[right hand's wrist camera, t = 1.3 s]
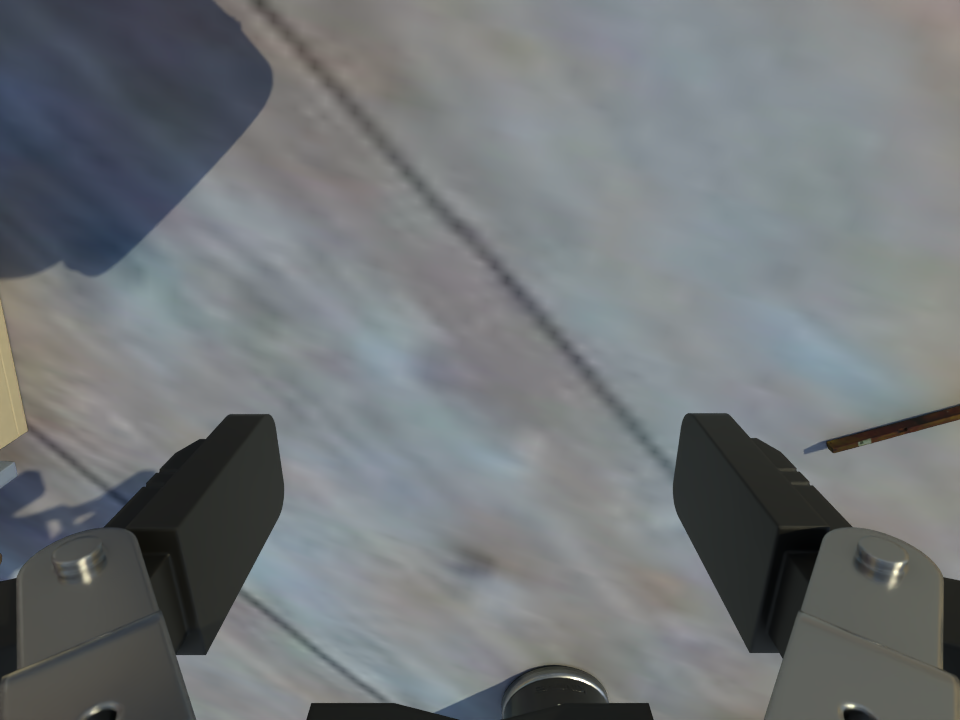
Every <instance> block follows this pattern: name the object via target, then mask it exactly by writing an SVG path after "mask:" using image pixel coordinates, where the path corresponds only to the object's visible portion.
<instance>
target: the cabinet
mask: <svg viewBox="0 0 960 720" xmlns="http://www.w3.org/2000/svg"><path fill="white" fill-rule="evenodd" d="M27 431H28V429H27V424H26V419H25V414H24V410H23V405H22V400H21V395H20V391H19V386H18V381H17V376H16V371H15V367H14V362H13V357H12V352H11V348H10V343H9V338H8V333H7V328H6V324H5V319H4V314H3V309H2V305H1V300H0V449H2V448H3V447H5V446H6V445H8V444H9V443H11V442H12V441H14V440H15V439H17V438H18V437H20V436H21V435H23V434H24V433H26V432H27Z"/></svg>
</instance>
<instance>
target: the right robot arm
mask: <svg viewBox="0 0 960 720" xmlns="http://www.w3.org/2000/svg"><path fill="white" fill-rule="evenodd" d="M673 498H674V505H675V509H676V512H677V515H678V517H679V519H680V521H681V522H682V524H683V526H684V528H685V530H686V532H687V534H688V536H689V538H690V540H691V542H692V543H693V545H694V547H695V549H696V551H697V553H698V555H699V557H700V559H701V561H702V563H703V564H704V566H705V568H706V570H707V572H708V574H709V576H710V578H711V580H712V582H713V584H714V586H715V587H716V589H717V591H718V593H719V595H720V597H721V599H722V601H723V603H724V605H725V607H726V608H727V610H728V612H729V614H730V616H731V618H732V620H733V622H734V624H735V626H736V628H737V629H738V631H739V633H740V635H741V637H742V639H743V641H744V643H745V645H746V647H747V649H748V650H749V652H750V653H780V655H781V656H782V658H783V661H782V664H781V667H780V670H779V673H778V677H777V680H776V683H775V686H774V689H773V692H772V696H771V699H770V702H769V705H768V708H767V711H766V715H765V718H764V720H960V581H959V580H954V579H949V578H944V577H943V575H942V573H941V571H940V569H939V568H938V567H937V565H936V564H935V563H934V562H933V561H932V560H931V559H930V558H929V557H927V556H926V555H925V554H924V553H922V552H921V551H920V550H918V549H916V548H915V547H913V546H912V545H910V544H908V543H906V542H904V541H902V540H900V539H897V538H895V537H893V536H890V535H887V534H885V533H881V532H878V531H874V530H869V529H864V528H855V527H852V526H851V525H850V524H849V523H848V522H847V521H846V520H845V519H844V518H843V517H842V516H841V514H840V513H839V512H838V511H837V510H836V509H835V508H834V507H833V506H832V505H831V504H830V503H829V502H828V501H827V500H826V499H825V498H824V497H823V496H822V495H821V494H820V492H819V491H818V490H817V489H816V488H815V487H814V486H810V484H809V481H808V480H807V479H806V478H805V477H804V476H803V475H802V474H801V473H800V472H797V471H796V467H795V466H794V465H793V464H792V463H791V462H790V461H789V460H788V459H787V458H786V457H785V456H784V455H783V454H782V453H781V452H780V451H778V450H776V449H775V448H773V447H771V446H769V445H768V444H766V443H764V442H762V441H761V440H759V439H757V438H750V437H749V436H748V435H747V434H746V433H745V432H744V430H743V429H742V428H741V427H740V426H739V425H738V424H737V423H736V422H735V420H734V419H733V418H732V417H731V416H730V415H729V414H727V413H688V414H686V415H685V417H684V419H683V421H682V425H681V432H680V439H679V446H678V453H677V460H676V467H675V474H674V481H673ZM283 500H284V481H283V474H282V468H281V461H280V454H279V447H278V440H277V433H276V427H275V422H274V420H273V418H272V416H271V415H269V414H230V415H228V416H227V417H225V419H224V420H223V421H222V422H221V423H220V424H219V425H218V426H217V427H216V428H215V430H214V431H213V432H212V433H211V434H210V435H209V436H208V437H207V438H206V439H199V440H197V441H196V442H194V443H192V444H190V445H189V446H187V447H185V448H183V449H182V450H180V451H178V452H177V453H175V454H174V455H173V456H172V457H171V458H170V459H169V460H168V461H167V462H166V463H165V464H164V465H163V466H162V468H161V469H160V472H159V473H156V474H155V475H154V476H153V477H152V478H151V479H150V480H149V481H148V482H147V483H146V487H142V488H141V489H140V490H139V491H138V492H137V493H136V494H135V496H134V497H133V498H132V499H131V500H130V501H129V502H128V503H127V504H126V505H125V506H124V507H123V508H122V509H121V510H120V511H119V512H118V513H117V514H116V515H115V516H114V517H113V518H112V519H111V520H110V521H109V522H108V524H107V525H106V526H105V527H104V528H96V529H91V530H86V531H82V532H79V533H75V534H73V535H70V536H67V537H65V538H63V539H60V540H58V541H56V542H54V543H52V544H50V545H48V546H47V547H45V548H44V549H42V550H40V551H39V552H38V553H36V554H35V555H34V556H33V557H31V558H30V559H29V560H28V561H27V562H26V563H25V564H24V565H23V567H22V568H21V569H20V571H19V573H18V575H17V578H14V579H10V580H5V581H0V720H196V718H195V715H194V711H193V708H192V705H191V702H190V699H189V696H188V692H187V689H186V686H185V683H184V680H183V677H182V673H181V670H180V667H179V664H178V661H177V658H176V655H206V654H207V652H208V650H209V648H210V646H211V644H212V642H213V640H214V639H215V637H216V635H217V633H218V631H219V629H220V627H221V625H222V623H223V622H224V620H225V618H226V616H227V614H228V612H229V610H230V608H231V607H232V605H233V603H234V601H235V599H236V597H237V595H238V593H239V591H240V590H241V588H242V586H243V584H244V582H245V580H246V578H247V576H248V574H249V573H250V571H251V569H252V567H253V565H254V563H255V561H256V559H257V557H258V556H259V554H260V552H261V550H262V548H263V546H264V544H265V542H266V540H267V539H268V537H269V535H270V533H271V531H272V529H273V527H274V525H275V523H276V522H277V520H278V518H279V516H280V513H281V510H282V506H283ZM307 720H458V719H454V718H450V717H446V716H442V715H439V714H435V713H431V712H427V711H423V710H419V709H415V708H411V707H407V706H403V705H399V704H396V703H311V706H310V710H309V713H308V716H307ZM502 720H653V716H652V713H651V710H650V706H649V703H609V701H608V697H607V693H606V691H605V689H604V687H603V686H602V684H601V683H600V682H599V681H598V680H597V679H596V678H595V677H593V676H592V675H590V674H588V673H586V672H584V671H582V670H579V669H575V668H571V667H564V666H551V667H544V668H539V669H536V670H533V671H530V672H528V673H526V674H524V675H522V676H520V677H519V678H517V679H516V680H515V681H514V682H513V683H512V684H511V685H510V686H509V687H508V689H507V690H506V692H505V694H504V696H503V700H502Z"/></svg>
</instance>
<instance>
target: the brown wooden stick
mask: <svg viewBox="0 0 960 720" xmlns="http://www.w3.org/2000/svg"><path fill="white" fill-rule="evenodd" d="M959 419H960V406H956V407H953V408H949V409H946V410H942V411H938V412H934V413H930V414H927V415H923V416H920V417H917V418H913V419H909V420H905V421H902V422H898V423H894V424H890V425H887V426H883V427H879V428H876V429H872V430H868V431H865V432H861V433H857V434H854V435H850V436H846V437H843V438H838V439H835V440H831V441H827V442H826V444H827V447H828V449H829V450H830V451H831V452H832V453H837V452H840V451H844V450H848V449H852V448H856V447H859V446H863V445H866V444H871V443H874V442H878V441H882V440H885V439H889V438H893V437H896V436H900V435H903V434H907V433H911V432H915V431H919V430H922V429H926V428H929V427H933V426H937V425H941V424H945V423H948V422H952V421H956V420H959Z"/></svg>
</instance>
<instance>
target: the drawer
mask: <svg viewBox="0 0 960 720" xmlns="http://www.w3.org/2000/svg"><path fill="white" fill-rule="evenodd" d="M17 476H18V474H17V470H16V465H15V462H9V461H0V489H1V488H2V487H3V486H5V485H6V484H7V483H9V482H10V481H11V480H13V479H14V478H16V477H17ZM1 562H2V555H1V553H0V564H1Z"/></svg>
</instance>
